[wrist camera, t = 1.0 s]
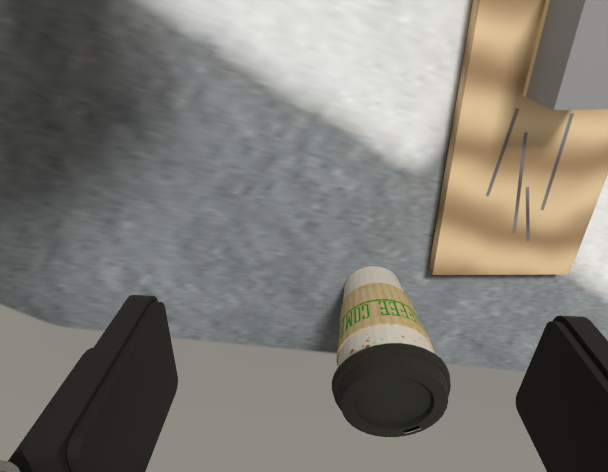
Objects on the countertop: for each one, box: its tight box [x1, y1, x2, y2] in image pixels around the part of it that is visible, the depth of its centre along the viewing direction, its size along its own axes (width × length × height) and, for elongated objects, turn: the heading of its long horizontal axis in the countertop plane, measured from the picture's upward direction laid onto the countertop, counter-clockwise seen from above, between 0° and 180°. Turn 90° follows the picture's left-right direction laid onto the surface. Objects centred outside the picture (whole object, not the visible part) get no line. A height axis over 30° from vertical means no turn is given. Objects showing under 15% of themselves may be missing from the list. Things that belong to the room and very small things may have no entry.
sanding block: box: [522, 0, 608, 110], centre depth 28 cm, size 8×4×5 cm, turn 1°
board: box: [429, 0, 608, 275], centre depth 36 cm, size 26×14×2 cm, turn 1°
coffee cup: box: [332, 266, 451, 437], centre depth 38 cm, size 10×10×15 cm
